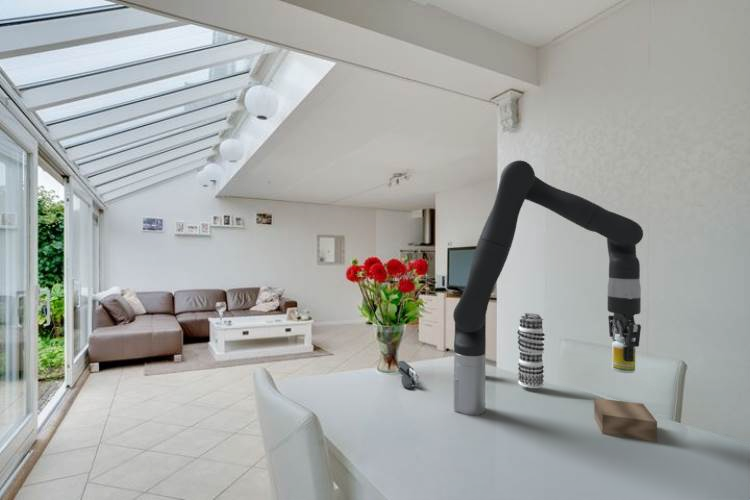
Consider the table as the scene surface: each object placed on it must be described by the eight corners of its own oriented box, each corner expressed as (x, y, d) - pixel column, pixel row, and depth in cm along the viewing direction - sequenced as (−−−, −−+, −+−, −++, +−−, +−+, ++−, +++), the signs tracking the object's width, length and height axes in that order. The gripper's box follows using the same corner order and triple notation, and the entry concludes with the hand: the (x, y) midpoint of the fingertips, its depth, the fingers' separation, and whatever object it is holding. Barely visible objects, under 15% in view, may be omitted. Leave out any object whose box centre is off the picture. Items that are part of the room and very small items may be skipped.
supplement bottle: (608, 366, 110) (608, 332, 109) (629, 368, 109) (630, 333, 108) (616, 373, 104) (616, 336, 104) (638, 374, 103) (639, 337, 103)
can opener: (422, 388, 138) (422, 374, 138) (404, 389, 137) (404, 375, 137) (407, 371, 157) (407, 358, 157) (392, 372, 156) (392, 359, 156)
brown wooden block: (602, 437, 103) (602, 414, 103) (594, 418, 114) (594, 397, 114) (656, 445, 99) (657, 421, 99) (642, 425, 110) (643, 403, 110)
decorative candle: (516, 386, 139) (516, 315, 139) (517, 378, 148) (517, 311, 148) (544, 390, 136) (545, 317, 136) (544, 381, 145) (544, 313, 144)
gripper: (598, 291, 114) (597, 350, 114) (620, 298, 100) (619, 365, 100) (626, 292, 113) (626, 351, 113) (653, 299, 98) (652, 366, 99)
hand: (623, 357), depth 106 cm, fingers closed on supplement bottle, 5 cm apart
